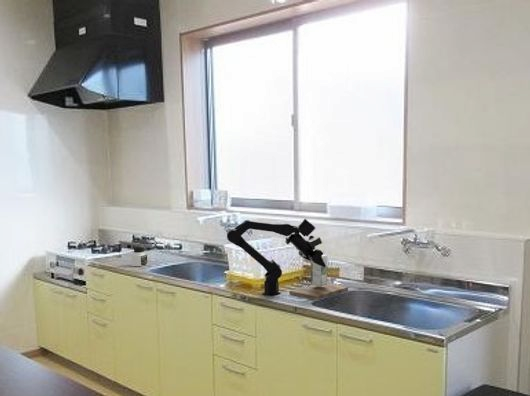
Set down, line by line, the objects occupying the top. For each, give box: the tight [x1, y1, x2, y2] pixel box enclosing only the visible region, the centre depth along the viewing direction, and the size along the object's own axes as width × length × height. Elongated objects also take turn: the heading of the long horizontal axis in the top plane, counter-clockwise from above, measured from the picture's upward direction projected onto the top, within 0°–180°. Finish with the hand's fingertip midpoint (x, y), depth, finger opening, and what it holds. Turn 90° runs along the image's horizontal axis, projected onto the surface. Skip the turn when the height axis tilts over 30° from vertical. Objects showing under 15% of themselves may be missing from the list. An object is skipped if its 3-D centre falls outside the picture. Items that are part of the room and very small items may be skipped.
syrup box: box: [310, 253, 328, 286], centre depth 255 cm, size 6×6×14 cm
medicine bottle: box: [130, 245, 148, 267], centre depth 329 cm, size 7×7×12 cm
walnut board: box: [289, 282, 349, 301], centre depth 253 cm, size 24×16×2 cm, turn 134°
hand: (321, 264), depth 256 cm, fingers closed on syrup box, 7 cm apart
